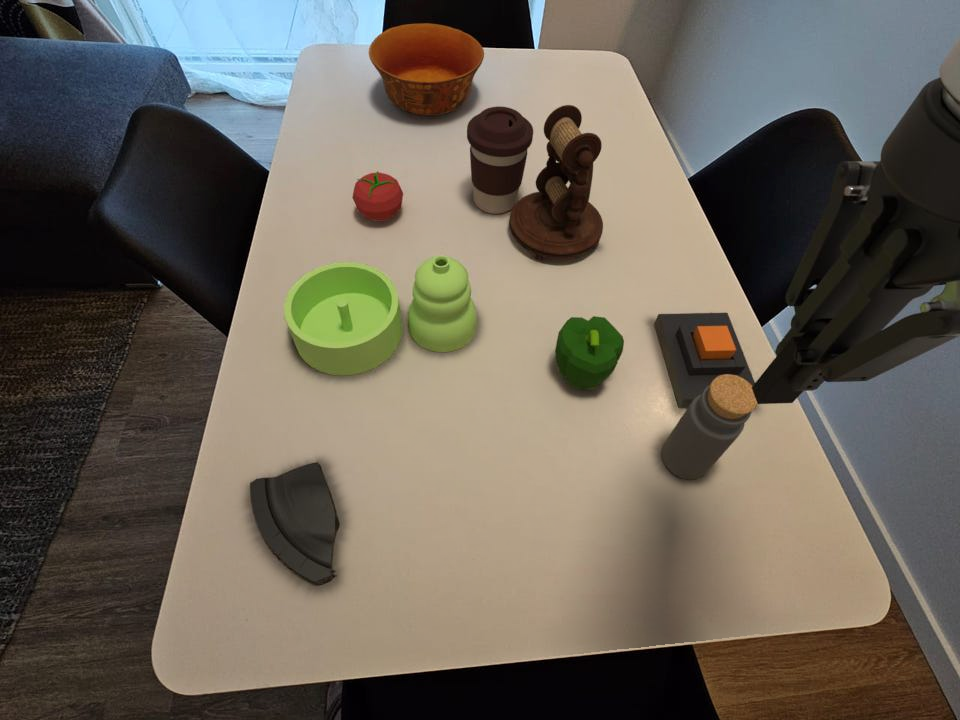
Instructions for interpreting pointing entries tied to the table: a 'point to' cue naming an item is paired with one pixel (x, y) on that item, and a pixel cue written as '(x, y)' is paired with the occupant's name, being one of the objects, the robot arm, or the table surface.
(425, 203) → the table surface
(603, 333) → the bell pepper
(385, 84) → the bowl
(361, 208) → the tomato
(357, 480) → the table surface
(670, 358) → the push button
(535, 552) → the table surface
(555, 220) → the wooden spool holder
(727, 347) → the orange square block
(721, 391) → the bottle
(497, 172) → the coffee cup
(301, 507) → the fan shaped piece
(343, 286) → the green rounded pieces
